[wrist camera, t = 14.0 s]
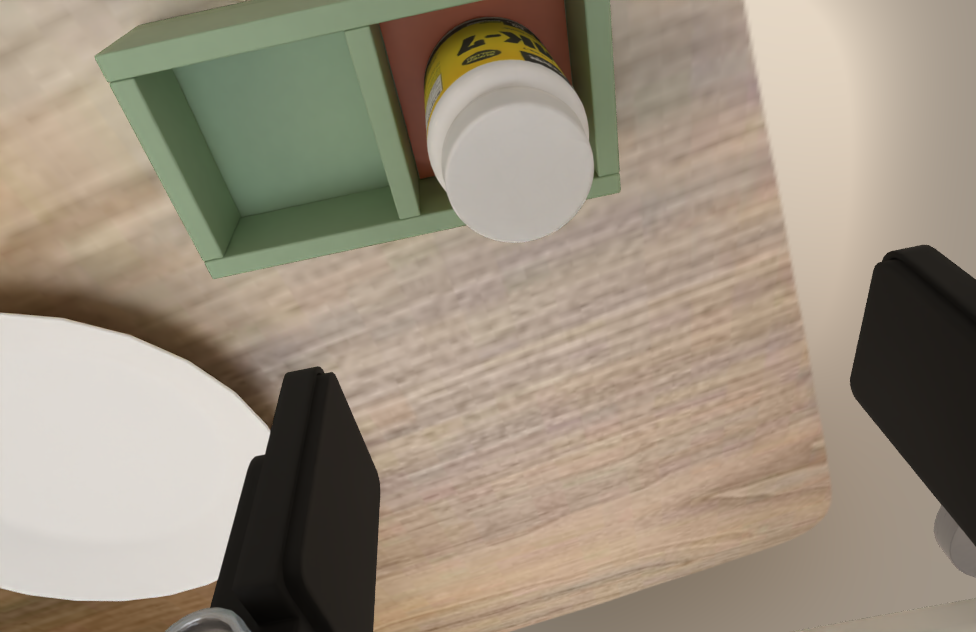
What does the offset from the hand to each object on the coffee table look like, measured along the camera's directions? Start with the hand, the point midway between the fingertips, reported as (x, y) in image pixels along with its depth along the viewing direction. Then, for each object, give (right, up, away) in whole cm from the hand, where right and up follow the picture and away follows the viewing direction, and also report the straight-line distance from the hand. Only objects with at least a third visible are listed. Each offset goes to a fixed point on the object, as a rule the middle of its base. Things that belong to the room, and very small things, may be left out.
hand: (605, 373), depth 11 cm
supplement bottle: (-2, +10, +12) cm, 16 cm away
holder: (-6, +9, +13) cm, 17 cm away
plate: (-23, -6, +22) cm, 32 cm away
